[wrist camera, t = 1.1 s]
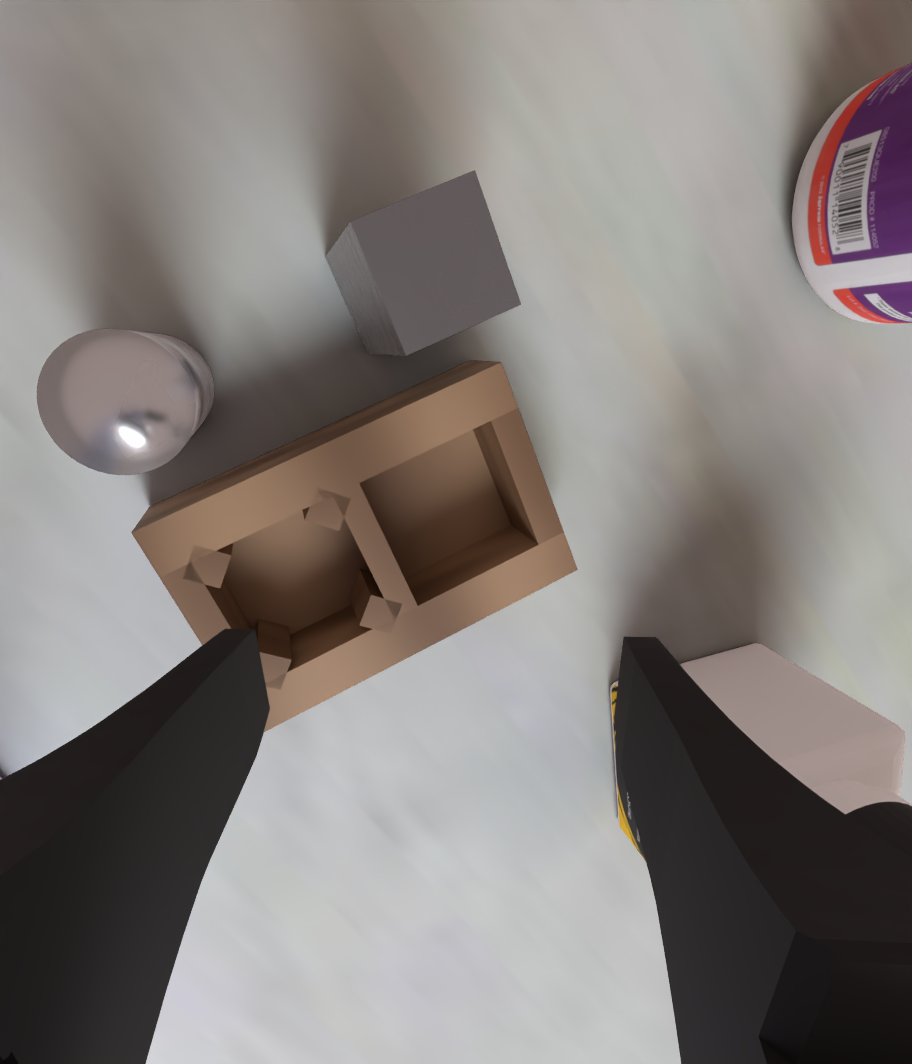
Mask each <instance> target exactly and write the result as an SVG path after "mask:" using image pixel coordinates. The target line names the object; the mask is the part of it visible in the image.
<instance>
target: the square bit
mask: <svg viewBox="0 0 912 1064" xmlns="http://www.w3.org/2000/svg"><path fill="white" fill-rule="evenodd" d="M326 260H327V262H328V264H329V266H330V269H331V271H332V273H333V276H334V278H335V280H336V282H337V285H338V287H339V289H340V292H341V294H342V296H343V298H344V301H345V303H346V305H347V307H348V310H349V312H350V314H351V317H352V319H353V321H354V323H355V326H356V328H357V330H358V333H359V335H360V337H361V339H362V342H363V344H364V346H365V349H366V351H367V353H368V354H384V355H399V356H407V355H409V354H412V353H414V352H416V351H418V350H421V349H423V348H425V347H427V346H430V345H432V344H434V343H436V342H438V341H441V340H443V339H445V338H447V337H450V336H452V335H454V334H456V333H458V332H461V331H463V330H465V329H467V328H470V327H472V326H474V325H476V324H479V323H481V322H483V321H485V320H487V319H490V318H492V317H494V316H496V315H499V314H501V313H503V312H505V311H508V310H510V309H512V308H514V307H516V306H519V305H521V303H520V300H519V297H518V294H517V291H516V288H515V285H514V283H513V280H512V277H511V274H510V271H509V268H508V265H507V262H506V259H505V256H504V254H503V251H502V248H501V245H500V242H499V239H498V236H497V233H496V230H495V228H494V225H493V222H492V219H491V216H490V213H489V210H488V207H487V204H486V201H485V199H484V196H483V193H482V190H481V187H480V184H479V181H478V178H477V175H476V172H475V170H474V171H472V172H469V173H467V174H464V175H462V176H460V177H457V178H455V179H452V180H450V181H448V182H445V183H443V184H440V185H438V186H435V187H433V188H431V189H428V190H426V191H423V192H421V193H418V194H416V195H414V196H411V197H409V198H406V199H404V200H401V201H399V202H397V203H394V204H392V205H389V206H387V207H385V208H382V209H380V210H377V211H375V212H372V213H370V214H368V215H365V216H363V217H360V218H358V219H355V220H353V221H351V222H350V223H349V224H348V225H347V227H346V228H345V230H344V231H343V233H342V234H341V235H340V237H339V238H338V240H337V241H336V243H335V244H334V245H333V247H332V248H331V250H330V251H329V252H328V254H327V255H326Z"/></svg>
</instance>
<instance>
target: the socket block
mask: <svg viewBox="0 0 912 1064" xmlns="http://www.w3.org/2000/svg"><path fill="white" fill-rule="evenodd" d="M131 533H132V534H133V536H134V538H135V539H136V541H137V542H138V544H139V546H140V547H141V549H142V550H143V552H144V553H145V555H146V557H147V558H148V560H149V561H150V563H151V565H152V566H153V568H154V569H155V571H156V573H157V574H158V576H159V577H160V579H161V580H162V582H163V584H164V585H165V587H166V588H167V590H168V592H169V593H170V595H171V596H172V598H173V599H174V601H175V603H176V604H177V606H178V607H179V609H180V611H181V612H182V614H183V615H184V617H185V619H186V620H187V622H188V623H189V625H190V626H191V628H192V630H193V631H194V633H195V634H196V636H197V638H198V639H199V641H200V642H201V644H202V645H204V644H205V643H206V642H208V641H209V640H210V639H212V638H213V637H214V636H216V635H217V634H218V633H220V632H221V631H223V630H224V629H255V631H256V636H257V641H258V647H259V652H260V657H261V663H262V668H263V673H264V679H265V684H266V689H267V695H268V700H269V705H270V711H269V715H268V718H267V722H266V726H265V729H264V732H265V731H267V730H269V729H271V728H273V727H275V726H277V725H279V724H281V723H283V722H285V721H287V720H288V719H290V718H292V717H294V716H296V715H298V714H300V713H302V712H304V711H306V710H308V709H310V708H312V707H314V706H315V705H317V704H319V703H321V702H323V701H325V700H327V699H329V698H331V697H333V696H335V695H337V694H339V693H341V692H342V691H344V690H346V689H348V688H350V687H352V686H354V685H356V684H358V683H360V682H362V681H364V680H366V679H368V678H369V677H371V676H373V675H375V674H377V673H379V672H381V671H383V670H385V669H387V668H389V667H391V666H393V665H395V664H397V663H398V662H400V661H402V660H404V659H406V658H408V657H410V656H412V655H414V654H416V653H418V652H420V651H422V650H424V649H425V648H427V647H429V646H431V645H433V644H435V643H437V642H439V641H441V640H443V639H445V638H447V637H449V636H451V635H452V634H454V633H456V632H458V631H460V630H462V629H464V628H466V627H468V626H470V625H472V624H474V623H476V622H478V621H479V620H481V619H483V618H485V617H487V616H489V615H491V614H493V613H495V612H497V611H499V610H501V609H503V608H505V607H507V606H508V605H510V604H512V603H514V602H516V601H518V600H520V599H522V598H524V597H526V596H528V595H530V594H532V593H534V592H535V591H537V590H539V589H541V588H543V587H545V586H547V585H549V584H551V583H553V582H555V581H557V580H559V579H561V578H562V577H564V576H566V575H568V574H570V573H572V572H574V571H576V570H578V569H577V567H576V564H575V561H574V559H573V556H572V553H571V550H570V548H569V545H568V542H567V540H566V537H565V534H564V531H563V529H562V526H561V523H560V520H559V518H558V515H557V512H556V510H555V507H554V504H553V501H552V499H551V496H550V493H549V491H548V488H547V485H546V482H545V480H544V477H543V474H542V471H541V469H540V466H539V463H538V461H537V458H536V455H535V452H534V450H533V447H532V444H531V442H530V439H529V436H528V433H527V431H526V428H525V425H524V422H523V420H522V417H521V414H520V412H519V409H518V406H517V403H516V401H515V398H514V395H513V393H512V390H511V387H510V384H509V382H508V379H507V376H506V373H505V371H504V368H503V365H502V363H501V362H490V361H474V360H470V361H468V362H466V363H464V364H461V365H459V366H457V367H455V368H453V369H451V370H448V371H446V372H444V373H442V374H440V375H437V376H435V377H433V378H431V379H429V380H426V381H424V382H422V383H420V384H418V385H416V386H413V387H411V388H409V389H407V390H405V391H402V392H400V393H398V394H396V395H394V396H391V397H389V398H387V399H385V400H383V401H380V402H378V403H376V404H374V405H372V406H370V407H367V408H365V409H363V410H361V411H359V412H356V413H354V414H352V415H350V416H348V417H345V418H343V419H341V420H339V421H337V422H335V423H332V424H330V425H328V426H326V427H324V428H321V429H319V430H317V431H315V432H313V433H310V434H308V435H306V436H304V437H302V438H299V439H297V440H295V441H293V442H291V443H289V444H286V445H284V446H282V447H280V448H278V449H275V450H273V451H271V452H269V453H267V454H264V455H262V456H260V457H258V458H256V459H253V460H251V461H249V462H247V463H245V464H243V465H240V466H238V467H236V468H234V469H232V470H229V471H227V472H225V473H223V474H221V475H218V476H216V477H214V478H212V479H210V480H208V481H205V482H203V483H201V484H199V485H197V486H194V487H192V488H190V489H188V490H186V491H183V492H181V493H179V494H177V495H175V496H172V497H170V498H168V499H166V500H164V501H162V502H159V503H157V504H155V505H153V506H151V507H149V508H148V510H147V511H146V513H145V514H144V515H143V517H142V518H141V520H140V521H139V523H138V524H137V525H136V527H135V528H134V530H133V531H132V532H131Z"/></svg>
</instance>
